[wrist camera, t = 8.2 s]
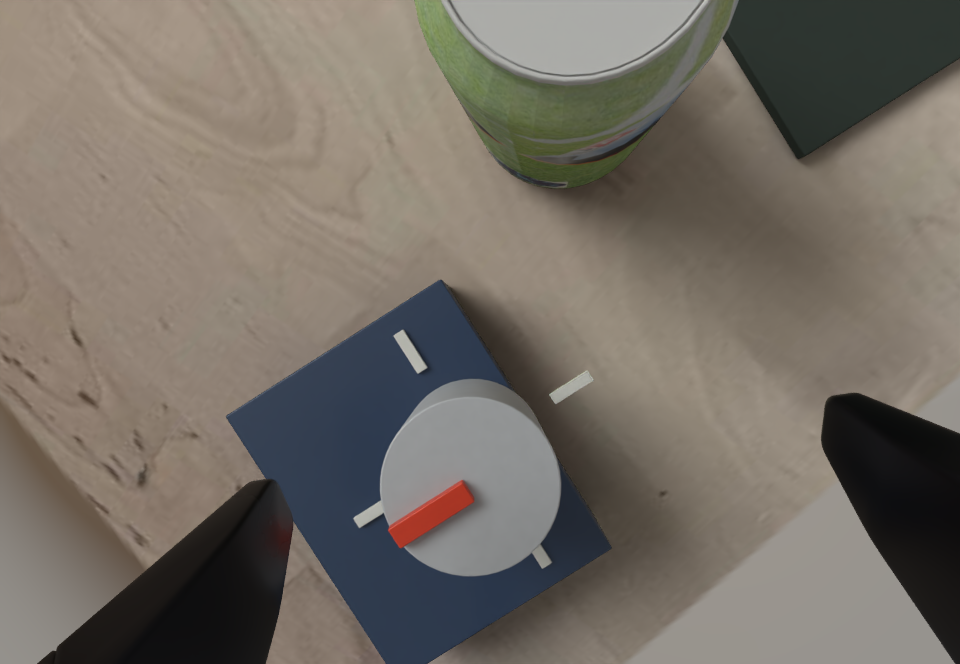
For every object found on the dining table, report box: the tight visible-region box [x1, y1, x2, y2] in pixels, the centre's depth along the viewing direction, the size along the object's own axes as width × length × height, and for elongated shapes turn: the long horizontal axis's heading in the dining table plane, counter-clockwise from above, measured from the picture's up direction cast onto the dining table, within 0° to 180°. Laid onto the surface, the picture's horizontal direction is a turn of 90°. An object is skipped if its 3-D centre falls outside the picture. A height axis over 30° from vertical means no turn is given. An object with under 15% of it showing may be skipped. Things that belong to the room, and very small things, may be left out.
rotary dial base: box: [226, 280, 611, 664], centre depth 19 cm, size 10×10×3 cm
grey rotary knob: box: [380, 379, 561, 576], centre depth 16 cm, size 4×4×4 cm
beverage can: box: [414, 0, 739, 189], centre depth 15 cm, size 6×7×12 cm
